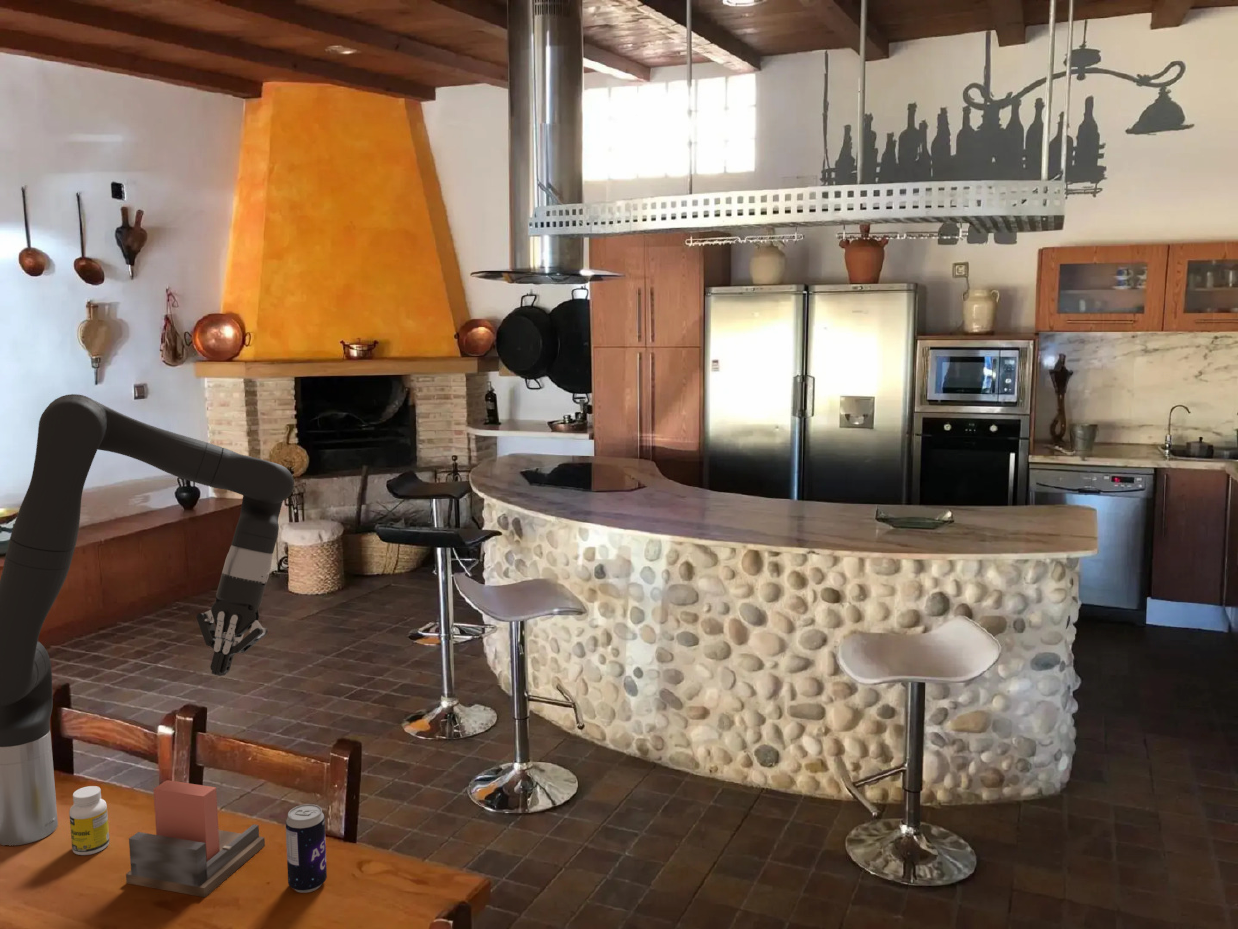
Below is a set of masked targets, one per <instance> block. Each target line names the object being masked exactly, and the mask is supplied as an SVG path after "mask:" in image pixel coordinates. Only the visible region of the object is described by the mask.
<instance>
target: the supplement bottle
mask: <svg viewBox="0 0 1238 929" xmlns="http://www.w3.org/2000/svg"><path fill="white" fill-rule="evenodd" d="M101 792H102V790H101V788H100V786H96V785H89V786H84V787H81V788H78V789H77V790H74V792H73V794H72V802H73V805H71V807H70V809H69V814H68V815H69V825H70V838H71V849H72V850H71V851H72V852H73V853H74V854H76V855H77V856H79V855H80V856H89V855H93V854H96V853H99V852H101V851H102V850H105V849H106V848H107V847H108V846H109V843H110V833H109V832H110V830H109V816H108V807H107V802H106V800H104V799H103V798H102V793H101Z"/></svg>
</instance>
